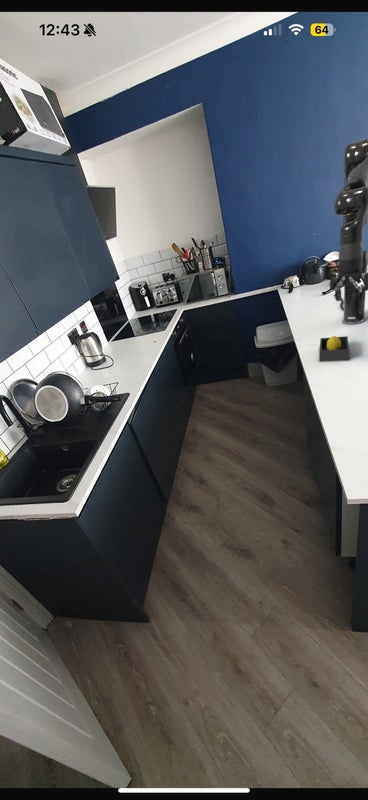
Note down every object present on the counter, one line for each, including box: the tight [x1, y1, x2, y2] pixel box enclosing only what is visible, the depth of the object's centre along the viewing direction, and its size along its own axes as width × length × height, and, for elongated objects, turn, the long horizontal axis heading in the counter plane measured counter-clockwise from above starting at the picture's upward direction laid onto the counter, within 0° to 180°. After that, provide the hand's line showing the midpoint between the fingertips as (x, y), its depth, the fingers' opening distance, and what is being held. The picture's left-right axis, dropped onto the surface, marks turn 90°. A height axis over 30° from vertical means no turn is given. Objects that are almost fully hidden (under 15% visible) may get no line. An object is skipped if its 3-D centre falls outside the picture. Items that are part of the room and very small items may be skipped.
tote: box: [319, 335, 350, 362], centre depth 134 cm, size 13×11×5 cm
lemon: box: [327, 335, 341, 350], centre depth 133 cm, size 6×6×8 cm
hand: (349, 301), depth 117 cm, fingers open, 8 cm apart
